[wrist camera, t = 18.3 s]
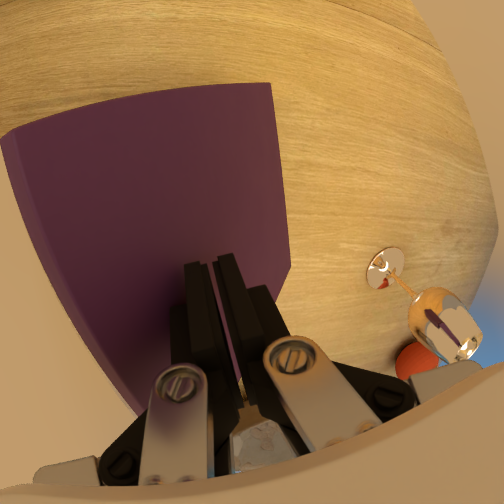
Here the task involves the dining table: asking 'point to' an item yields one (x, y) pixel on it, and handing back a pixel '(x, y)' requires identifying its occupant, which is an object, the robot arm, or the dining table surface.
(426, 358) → the tomato
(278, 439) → the ceramic bowl
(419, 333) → the wineglass
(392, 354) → the dining table surface
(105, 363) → the purple box lid
